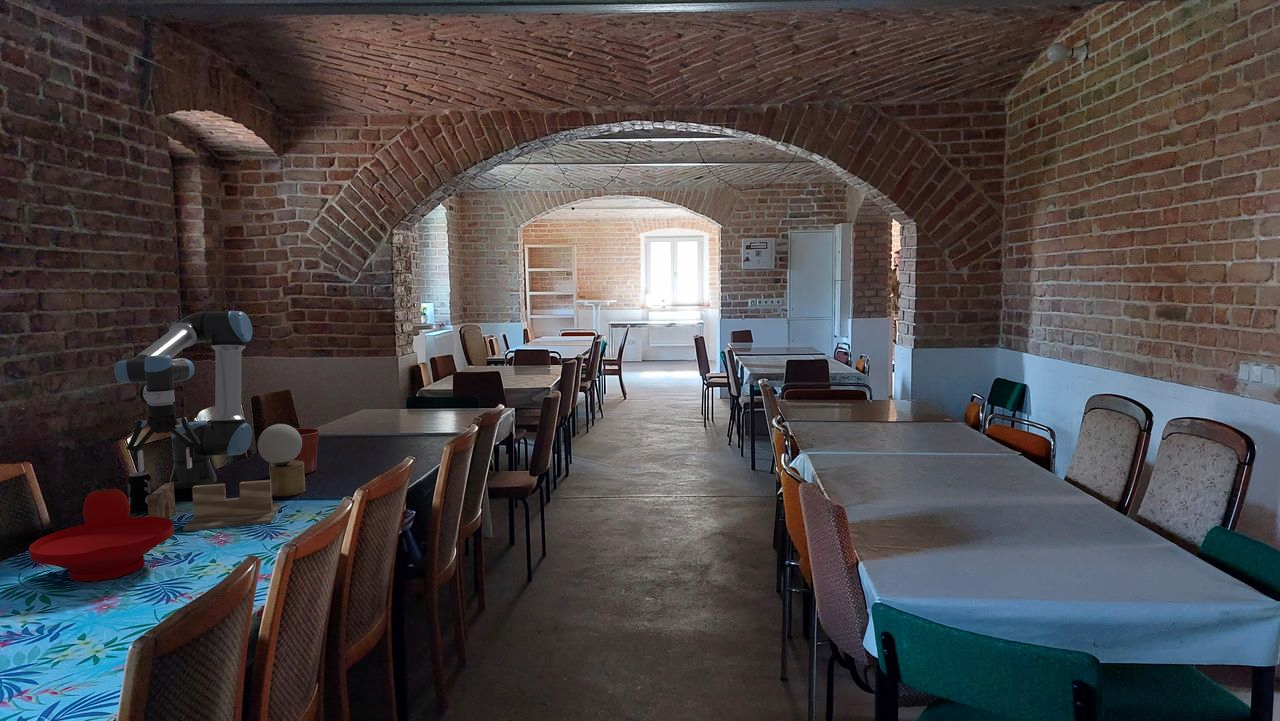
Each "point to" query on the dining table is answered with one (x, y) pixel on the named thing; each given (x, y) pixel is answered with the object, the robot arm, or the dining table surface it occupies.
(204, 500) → the wooden joinery piece
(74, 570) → the bowl
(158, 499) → the walnut plate
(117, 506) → the tomato
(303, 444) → the flower pot
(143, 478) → the beverage can
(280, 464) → the lamp
